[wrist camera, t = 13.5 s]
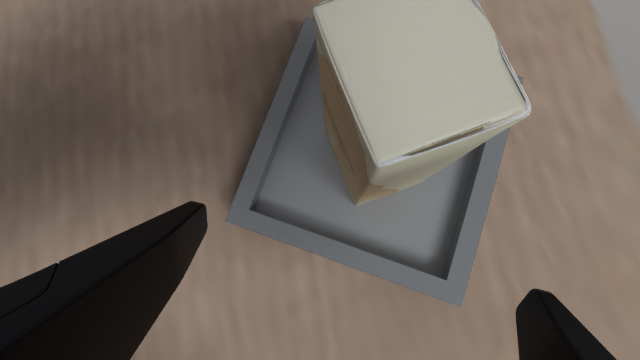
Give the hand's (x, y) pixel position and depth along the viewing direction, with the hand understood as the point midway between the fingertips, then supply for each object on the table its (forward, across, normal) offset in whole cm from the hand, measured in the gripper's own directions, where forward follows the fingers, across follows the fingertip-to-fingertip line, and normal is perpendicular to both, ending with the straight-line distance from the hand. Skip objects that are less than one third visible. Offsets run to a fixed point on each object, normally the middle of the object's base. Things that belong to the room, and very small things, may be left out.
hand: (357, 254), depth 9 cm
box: (+11, 0, +3) cm, 11 cm away
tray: (+12, 0, +3) cm, 12 cm away
